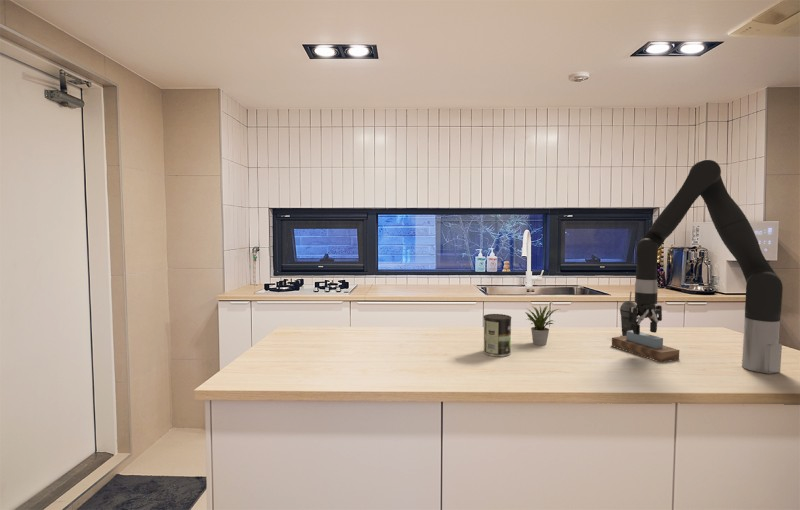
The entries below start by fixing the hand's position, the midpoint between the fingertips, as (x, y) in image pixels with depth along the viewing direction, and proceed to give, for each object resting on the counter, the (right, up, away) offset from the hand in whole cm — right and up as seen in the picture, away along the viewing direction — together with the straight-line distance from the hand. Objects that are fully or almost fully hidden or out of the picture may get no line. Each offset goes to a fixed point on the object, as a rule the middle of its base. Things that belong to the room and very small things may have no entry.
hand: (645, 333), depth 168 cm
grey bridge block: (0, -7, +1) cm, 7 cm away
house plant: (-35, -7, +14) cm, 38 cm away
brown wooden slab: (0, -8, +1) cm, 8 cm away
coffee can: (-56, -8, 0) cm, 57 cm away
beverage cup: (+6, -6, +24) cm, 26 cm away
